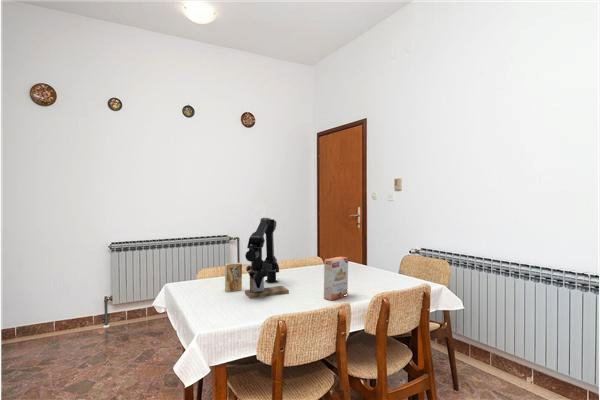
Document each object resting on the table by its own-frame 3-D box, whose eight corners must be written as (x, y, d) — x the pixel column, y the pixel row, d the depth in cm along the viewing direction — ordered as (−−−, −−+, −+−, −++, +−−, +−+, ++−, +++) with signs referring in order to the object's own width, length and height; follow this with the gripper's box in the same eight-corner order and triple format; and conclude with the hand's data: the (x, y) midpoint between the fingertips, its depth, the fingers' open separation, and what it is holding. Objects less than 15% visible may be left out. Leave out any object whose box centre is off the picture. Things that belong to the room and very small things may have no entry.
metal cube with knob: (249, 289, 196) (249, 274, 195) (260, 288, 198) (260, 273, 198) (253, 292, 190) (253, 276, 190) (263, 291, 193) (263, 275, 193)
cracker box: (332, 301, 183) (332, 260, 183) (323, 298, 187) (323, 259, 187) (348, 295, 194) (348, 257, 193) (339, 293, 198) (339, 255, 197)
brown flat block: (250, 298, 188) (250, 289, 187) (244, 293, 197) (244, 284, 196) (288, 293, 197) (288, 284, 197) (281, 289, 206) (281, 280, 206)
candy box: (239, 288, 207) (240, 262, 207) (242, 290, 203) (242, 263, 203) (224, 290, 203) (224, 263, 203) (226, 292, 199) (226, 264, 199)
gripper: (276, 259, 189) (276, 289, 189) (264, 254, 206) (264, 281, 206) (256, 261, 184) (256, 291, 184) (246, 255, 201) (246, 283, 201)
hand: (256, 286), depth 194 cm, fingers closed on metal cube with knob, 6 cm apart
